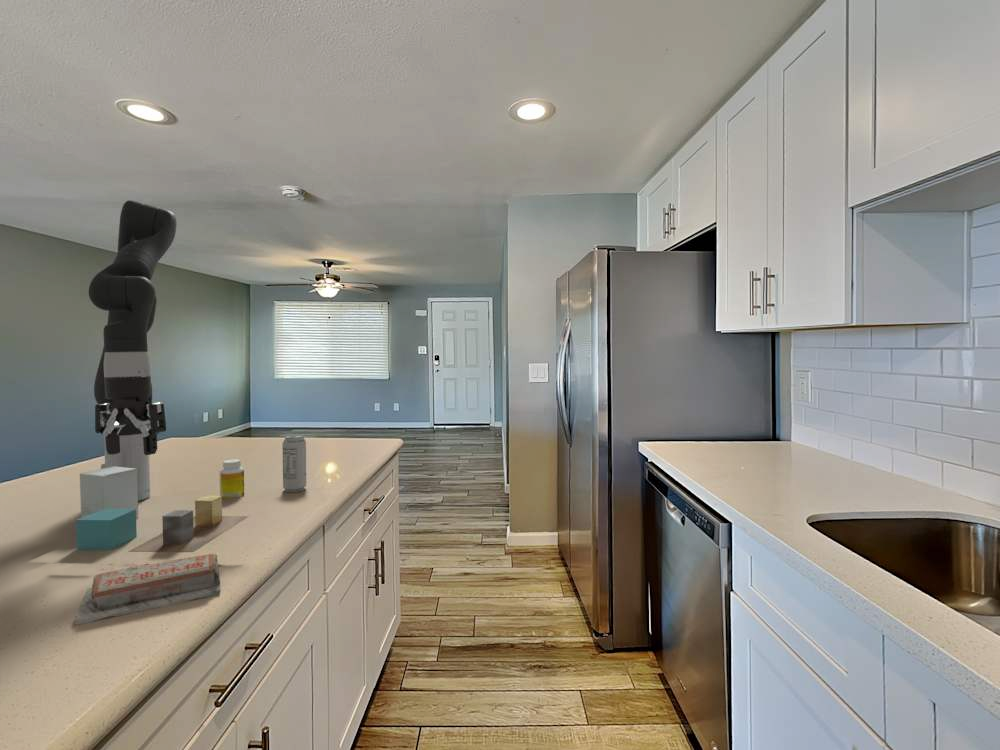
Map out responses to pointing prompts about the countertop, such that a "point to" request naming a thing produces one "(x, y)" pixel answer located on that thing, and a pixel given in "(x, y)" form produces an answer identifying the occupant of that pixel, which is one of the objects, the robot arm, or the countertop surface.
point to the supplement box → (108, 490)
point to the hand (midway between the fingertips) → (132, 454)
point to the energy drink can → (294, 463)
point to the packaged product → (149, 587)
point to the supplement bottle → (232, 479)
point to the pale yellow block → (208, 511)
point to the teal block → (106, 529)
